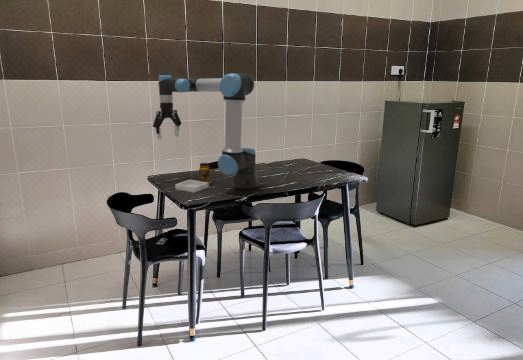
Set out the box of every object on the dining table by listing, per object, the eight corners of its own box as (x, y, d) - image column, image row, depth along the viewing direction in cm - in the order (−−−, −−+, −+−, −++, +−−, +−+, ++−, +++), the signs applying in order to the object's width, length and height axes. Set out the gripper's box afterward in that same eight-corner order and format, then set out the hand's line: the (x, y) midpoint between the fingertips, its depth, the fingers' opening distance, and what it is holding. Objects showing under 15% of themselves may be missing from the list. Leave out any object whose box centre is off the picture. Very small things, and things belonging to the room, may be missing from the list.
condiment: (205, 184, 238) (204, 165, 235) (194, 182, 242) (194, 163, 239) (213, 182, 244) (212, 163, 241) (202, 180, 248) (202, 161, 245)
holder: (208, 187, 231) (208, 182, 230) (194, 192, 220) (194, 187, 219) (189, 184, 238) (189, 179, 237) (175, 189, 227) (175, 184, 226)
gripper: (177, 100, 246) (179, 134, 251) (145, 102, 226) (147, 139, 232) (186, 101, 242) (187, 135, 247) (153, 103, 222) (155, 140, 227)
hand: (168, 137), depth 239 cm, fingers open, 13 cm apart
